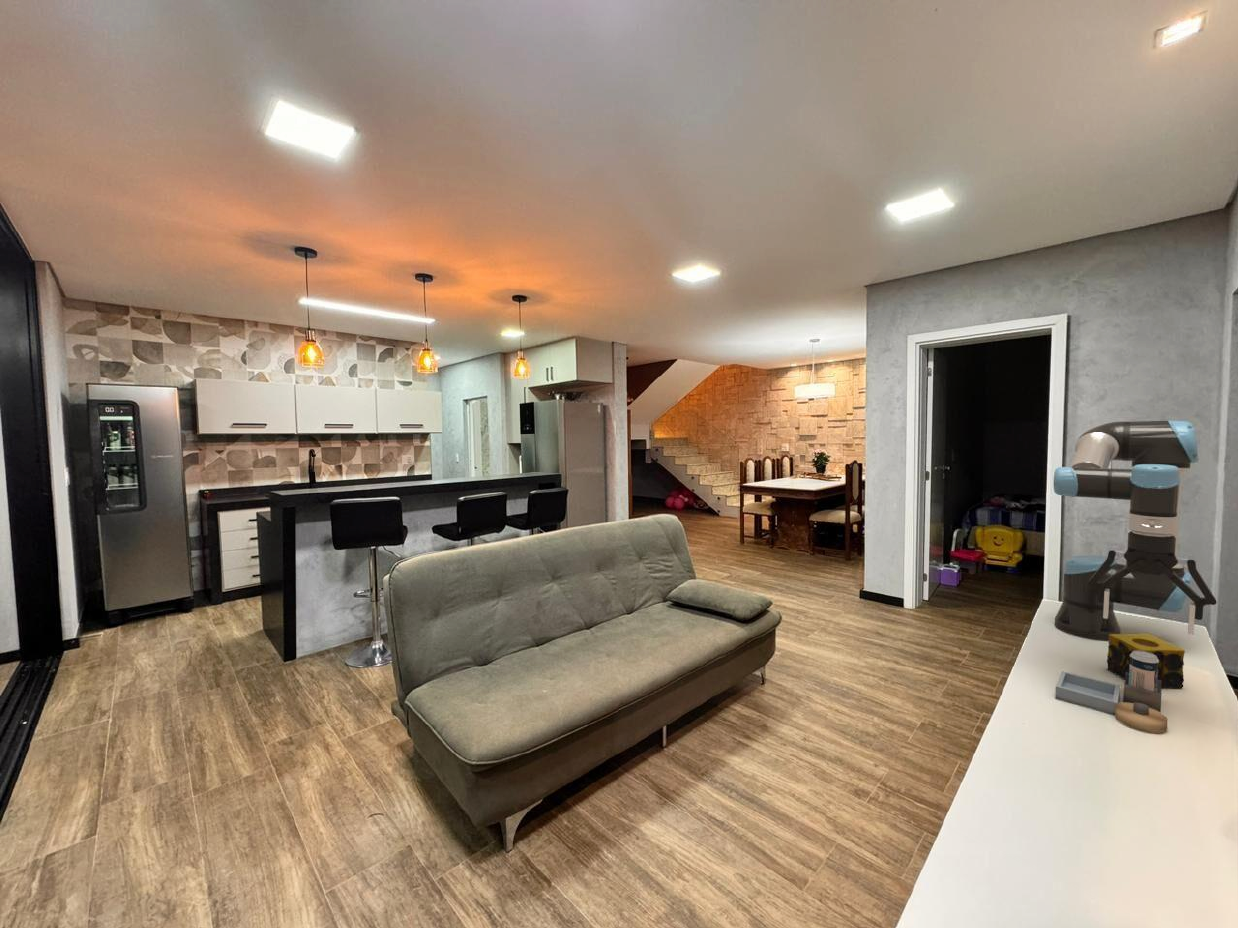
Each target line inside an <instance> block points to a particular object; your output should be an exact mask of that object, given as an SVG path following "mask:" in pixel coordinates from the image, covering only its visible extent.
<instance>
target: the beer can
mask: <svg viewBox="0 0 1238 928" xmlns="http://www.w3.org/2000/svg"><path fill="white" fill-rule="evenodd" d="M1158 663H1159V660H1158V658H1157V657H1156V655H1154V654H1152V653H1149V652H1145V651H1139V650H1136V651H1133V652H1132V653H1131V654H1130V668H1129V685H1130V686H1134V687H1138V688H1142V689H1146V690H1150V691H1154V692H1157V679H1158Z"/></svg>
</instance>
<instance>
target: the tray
mask: <svg viewBox="0 0 1238 928" xmlns="http://www.w3.org/2000/svg"><path fill="white" fill-rule="evenodd" d="M1120 695H1121V685H1120V684H1116V683H1114V682H1113V683H1112V682H1109V681H1105V680H1100V679H1095V678H1093V677H1088V676H1085V675H1081V674H1077V673H1073V672H1069V671H1064V670H1061V672H1060V674H1059V677H1058V680H1057V683H1056V685H1055V699H1056V700H1060V701H1063V702H1067V703H1070V704H1074V705H1077V706H1081V707H1085V708H1088V709H1091V710H1096V711H1098V712H1101V713H1106V714H1108V715H1109V714H1110V715H1112V716H1115V706H1116V705H1118V703H1120V697H1121V696H1120Z"/></svg>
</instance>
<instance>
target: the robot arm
mask: <svg viewBox="0 0 1238 928" xmlns="http://www.w3.org/2000/svg"><path fill="white" fill-rule="evenodd" d="M1194 426H1195V425H1193V424H1192V423H1191V422H1189V421H1186V420H1148V421H1147V420H1146V421H1145V420H1144V421H1142V420H1141V421H1140V420H1138V421H1124V420H1123V421H1113V422H1108V423H1104V424H1101V425H1100V424H1099V425H1098V426H1096V427H1092V428H1091V429H1089V430H1086V431H1085V432H1083V433H1082V434H1081V435H1080V436H1079V437H1078V438H1077V441H1076V443H1075V444H1074V452H1075V455H1074V456H1073V458H1072V461H1071V463H1070V466H1059V467H1057V468H1056V469H1055V470H1054V474H1053V491H1054V493H1055V494H1056V495H1058V496H1064V497H1065V496H1066V497H1070V498H1075V497H1076V498H1091V499H1092V498H1093V499H1094V498H1095V499H1111V500H1112V499H1113V500H1125V501H1129V502H1130V503H1129V512H1128V530H1129V532H1128V533H1127V549H1126V551H1120V550H1116V549H1115V548H1110V549H1109V551H1108V553H1107V556H1106V555H1093V554H1092V555H1091V554H1090V555H1088V554H1086V555H1085V554H1084V555H1076V556H1075V555H1074V556H1071V557H1068V558H1067V559H1065V562H1064V569H1063V571H1062V572H1063V588H1062V589H1063V593H1062V603H1061V605H1060V607H1059V610H1058V611H1057V613H1056V615H1055V617H1054V626H1055V627H1056V628H1057V629H1059V630H1060V631H1061V632H1064V633H1066V634H1069V635H1073V636H1077V637H1079V638H1084V639H1091V640H1096V641H1097V640H1098V641H1109V634H1121V628H1120V625H1119V622H1118V619H1117V616H1116V614H1115V611H1114V606H1115V604H1122V605H1126V606H1127V605H1128V606H1132V607H1133V606H1134V607H1137V608H1138V607H1139V608H1144V609H1151V610H1155V611H1157V612H1161V611H1163V612H1171V613H1179V612H1181V611H1182V610H1183V609H1184V607H1185V604H1186V601H1187V598H1188V599H1190V601H1189V605H1188V606H1189V608H1188V609H1189V610H1188V625H1187V634H1188V635H1191V636H1193V635H1194V633H1195V620H1197V621H1202V620H1203V614H1204V606H1209V605H1211V606H1215V605H1216V604H1217V600H1216V598H1215V596H1214V594H1213V593H1212V590H1210V587H1209V586H1208V584H1207V583H1206V582H1205V580H1204V578H1203V577H1202V575H1201V574H1200V572H1199V571H1198V569H1197V563H1196V560H1195V558H1194V557H1188V558H1178V541H1179V526H1180V525H1179V524H1180V510H1181V509H1180V508H1181V497H1182V496H1181V494H1182V493H1181V492H1182V490H1181V489H1182V476H1183V474H1185V473H1186V472H1188V471H1190V470H1191V464H1196V463H1198V462H1199V452H1198V445H1197V437H1196V432H1195V428H1194ZM1111 461H1124V462H1131V468H1132V469H1131V468H1109V467H1110V464H1111ZM1121 558H1124V559H1125V561H1126V562H1125V563H1126V564H1121V563H1117V561H1119V559H1121ZM1185 569H1186V570H1188V572H1187V571H1185ZM1192 580H1193V581H1194V582H1195V584H1196V586H1197V587H1198V588H1199V590H1200V592H1201V593H1202V595H1203V596H1204V597H1200V596H1199V595H1198V594H1197V592H1195V591H1194V590H1193V589H1192V588H1191V585H1190V584H1191V581H1192Z"/></svg>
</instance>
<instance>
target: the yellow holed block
mask: <svg viewBox="0 0 1238 928" xmlns="http://www.w3.org/2000/svg"><path fill="white" fill-rule="evenodd" d="M1107 649H1108V650H1107V651H1108V652H1107V659H1106V663H1107V671H1109V672H1112V674H1114V675H1116V676H1118V677H1119V678H1121V679H1123V680H1125V674H1126V672H1129V668H1130V654H1131V653H1132V652H1133V651H1136V650H1139V651H1145V652H1149V653H1152V654H1154V655H1156V657H1157V658H1158V660H1159V663H1158V679H1159V680H1162V684H1161V689H1174V690H1177V689H1180V690H1181V689H1183V688H1184V687H1185V686H1184V680H1185V679H1184V677H1185V676H1184V665H1185V663H1184V656H1185V652H1186V651H1185V649H1183V648H1181V647H1179V646H1177V645H1174V644H1172V643H1170V642H1167V641H1165V640H1163V639H1161V638H1159V637H1157V636H1154V635H1152V634H1150V633H1120V634H1109V640H1108V648H1107Z"/></svg>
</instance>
